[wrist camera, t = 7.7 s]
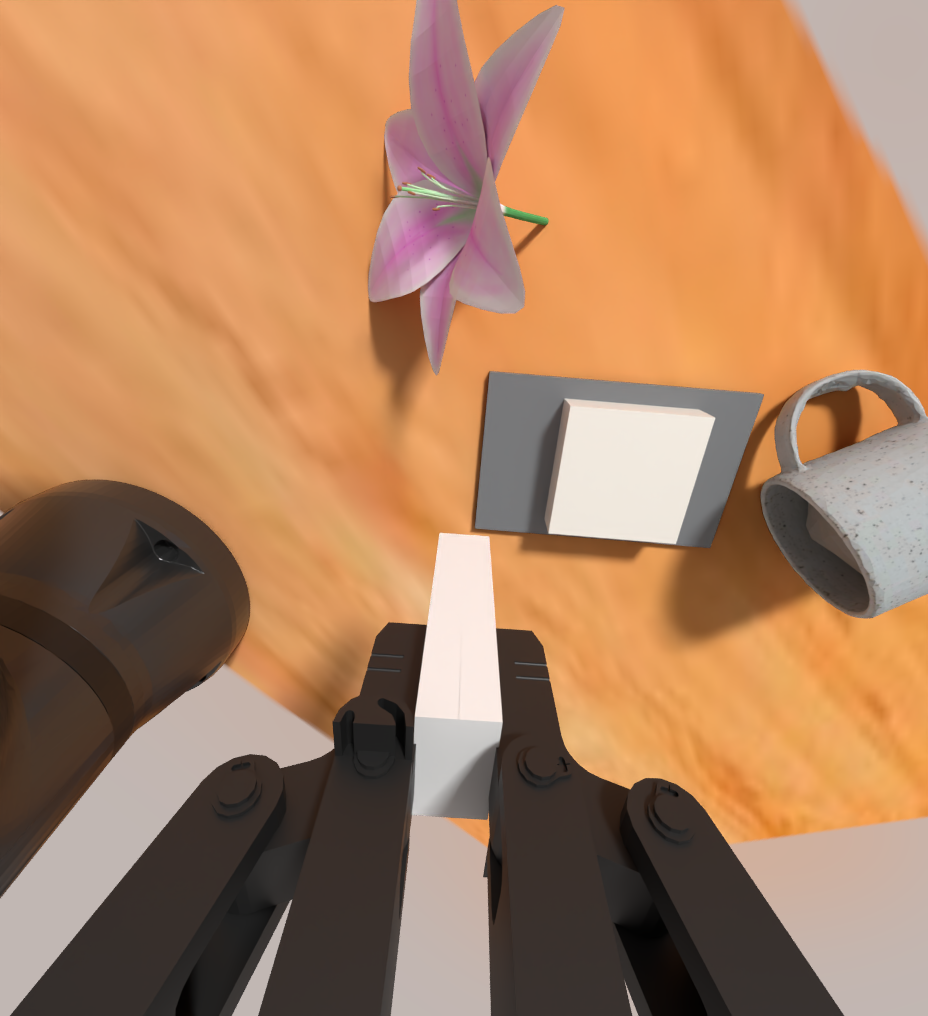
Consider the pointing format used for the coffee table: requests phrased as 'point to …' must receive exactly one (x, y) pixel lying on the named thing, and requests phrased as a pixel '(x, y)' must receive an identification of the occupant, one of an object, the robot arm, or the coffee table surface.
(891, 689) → the coffee table surface
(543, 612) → the coffee table surface
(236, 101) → the coffee table surface
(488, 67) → the lily
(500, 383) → the mat
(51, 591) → the robot arm
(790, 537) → the ceramic mug
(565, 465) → the tile
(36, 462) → the coffee table surface
